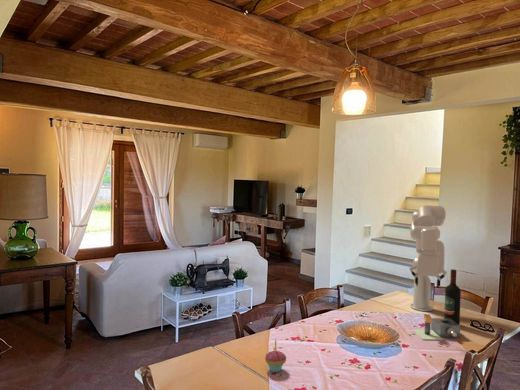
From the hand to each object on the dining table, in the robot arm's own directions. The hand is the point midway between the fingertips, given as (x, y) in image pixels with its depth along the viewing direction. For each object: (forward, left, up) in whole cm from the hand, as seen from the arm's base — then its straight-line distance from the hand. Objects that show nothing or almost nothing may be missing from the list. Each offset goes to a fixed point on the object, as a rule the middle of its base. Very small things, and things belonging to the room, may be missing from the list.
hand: (427, 286), depth 194 cm
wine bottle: (-14, +20, -25) cm, 35 cm away
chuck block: (+1, +10, -25) cm, 27 cm away
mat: (+2, 0, -25) cm, 25 cm away
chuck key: (+2, 0, -24) cm, 24 cm away
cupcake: (+40, -79, -25) cm, 92 cm away
